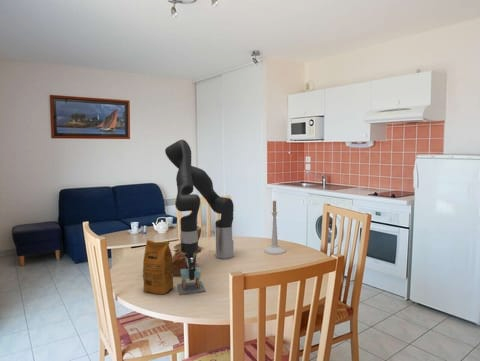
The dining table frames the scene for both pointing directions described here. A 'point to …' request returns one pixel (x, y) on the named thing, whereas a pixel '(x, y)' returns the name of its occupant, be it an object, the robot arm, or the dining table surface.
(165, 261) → the coffee package
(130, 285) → the dining table surface
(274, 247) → the candlestick
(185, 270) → the blue block with pegs
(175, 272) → the bread
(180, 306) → the dining table surface
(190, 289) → the mat
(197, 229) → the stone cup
